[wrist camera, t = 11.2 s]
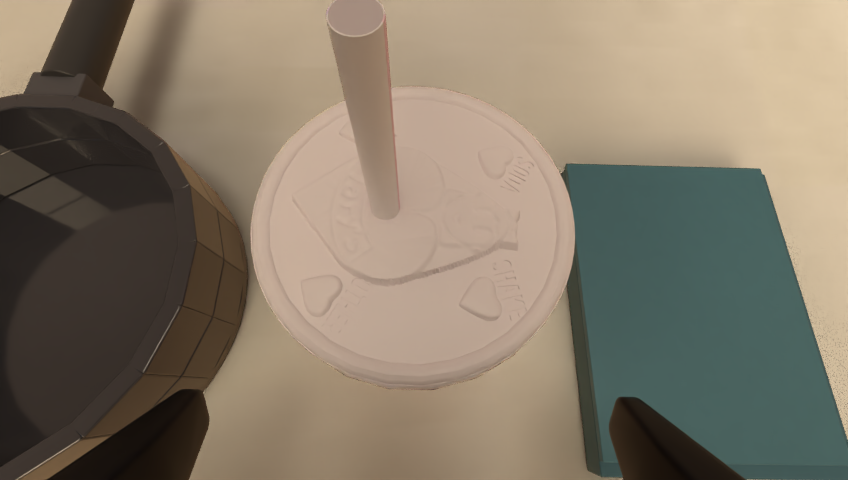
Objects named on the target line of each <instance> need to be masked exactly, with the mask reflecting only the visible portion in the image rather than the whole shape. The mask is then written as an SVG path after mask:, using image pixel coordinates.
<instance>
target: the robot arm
mask: <svg viewBox="0 0 848 480" xmlns="http://www.w3.org/2000/svg"><path fill="white" fill-rule="evenodd" d="M208 426H209V414H208V410H207V406H206V402H205V398H204V395H203V392H202V391H201V390H199V389H181V390H179V391H177V392H175V393H174V394H172V395H171V396H169V397H168V398H166V399H165V400H164V401H162V402H161V403H159V404H158V405H156V406H155V407H153V408H152V409H150V410H149V411H147V412H146V413H144V414H143V415H141V416H140V417H138V418H137V419H135V420H134V421H133V422H131V423H130V424H128V425H127V426H125V427H124V428H122V429H121V430H119V431H118V432H116V433H115V434H113V435H112V436H110V437H109V438H107V439H106V440H104V441H103V442H102V443H100V444H99V445H97V446H96V447H94V448H93V449H91V450H90V451H88V452H87V453H85V454H84V455H82V456H81V457H79V458H78V459H76V460H75V461H73V462H72V463H70V464H69V465H68V466H66V467H65V468H63V469H62V470H60V471H59V472H57V473H56V474H54V475H53V476H51V477H50V478H48V479H47V480H189V477H190V475H191V472H192V469H193V467H194V464H195V461H196V459H197V456H198V453H199V451H200V448H201V446H202V443H203V440H204V438H205V435H206V432H207V430H208ZM609 434H610V437H611V441H612V444H613V447H614V450H615V453H616V457H617V460H618V463H619V466H620V470H621V473H622V476H623V479H624V480H746V479H745V478H743V477H742V476H741V475H739V474H738V473H737V472H735V471H734V470H733V469H732V468H730V467H729V466H728V465H726V464H725V463H724V462H722V461H721V460H720V459H718V458H717V457H716V456H714V455H713V454H712V453H711V452H709V451H708V450H707V449H705V448H704V447H703V446H701V445H700V444H699V443H697V442H696V441H695V440H693V439H692V438H691V437H690V436H688V435H687V434H686V433H684V432H683V431H682V430H680V429H679V428H678V427H676V426H675V425H674V424H673V423H671V422H670V421H669V420H667V419H666V418H665V417H663V416H662V415H661V414H659V413H658V412H657V411H655V410H654V409H653V408H652V407H650V406H649V405H648V404H646V403H645V402H644V401H642V400H641V399H639V398H637V397H618V398H617V399H616V401H615V405H614V408H613V411H612V415H611V418H610V422H609Z"/></svg>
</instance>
